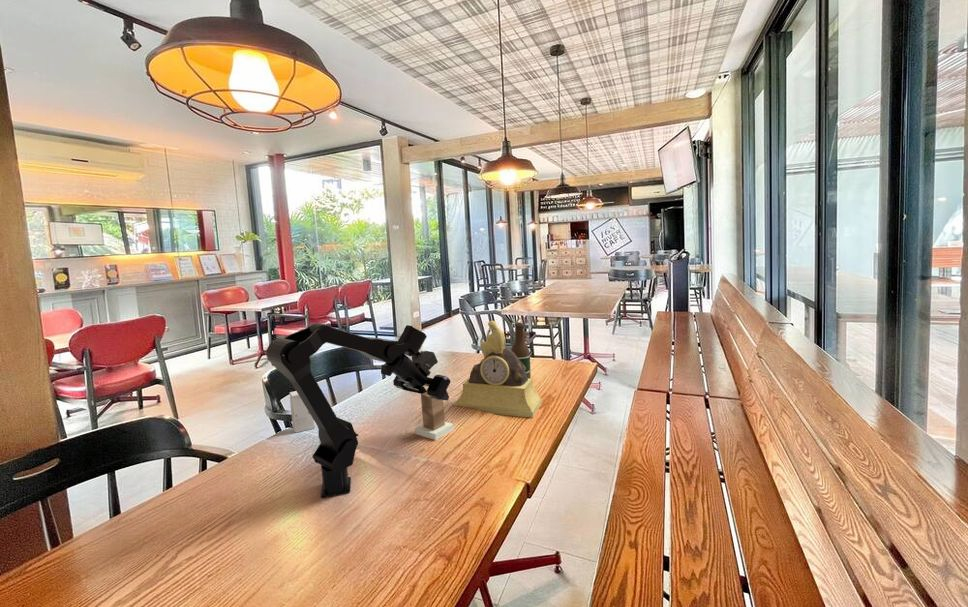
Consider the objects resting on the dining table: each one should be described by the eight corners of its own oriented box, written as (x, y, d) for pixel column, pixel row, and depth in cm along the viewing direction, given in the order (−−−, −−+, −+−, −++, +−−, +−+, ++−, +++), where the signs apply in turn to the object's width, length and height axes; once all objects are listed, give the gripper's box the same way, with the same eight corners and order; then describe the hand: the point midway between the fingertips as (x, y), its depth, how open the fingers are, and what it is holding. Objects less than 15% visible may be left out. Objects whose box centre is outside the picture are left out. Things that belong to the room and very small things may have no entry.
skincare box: (295, 433, 133) (290, 396, 131) (292, 428, 136) (288, 392, 135) (315, 428, 136) (311, 391, 134) (312, 423, 140) (308, 387, 138)
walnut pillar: (444, 424, 126) (442, 392, 125) (434, 430, 123) (431, 397, 122) (434, 421, 129) (431, 389, 128) (423, 426, 126) (420, 394, 125)
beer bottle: (509, 384, 170) (507, 325, 167) (513, 378, 177) (512, 321, 174) (528, 385, 168) (527, 325, 164) (532, 379, 175) (530, 321, 172)
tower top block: (453, 430, 127) (453, 423, 127) (435, 440, 121) (435, 434, 121) (433, 424, 132) (433, 418, 132) (415, 434, 126) (415, 427, 125)
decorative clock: (452, 409, 147) (448, 324, 142) (467, 396, 159) (463, 317, 154) (532, 418, 137) (530, 326, 133) (541, 403, 149) (539, 319, 145)
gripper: (443, 348, 114) (472, 377, 123) (398, 340, 125) (428, 367, 135) (423, 385, 109) (455, 412, 119) (378, 373, 120) (410, 399, 130)
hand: (436, 395), depth 126 cm, fingers open, 9 cm apart
